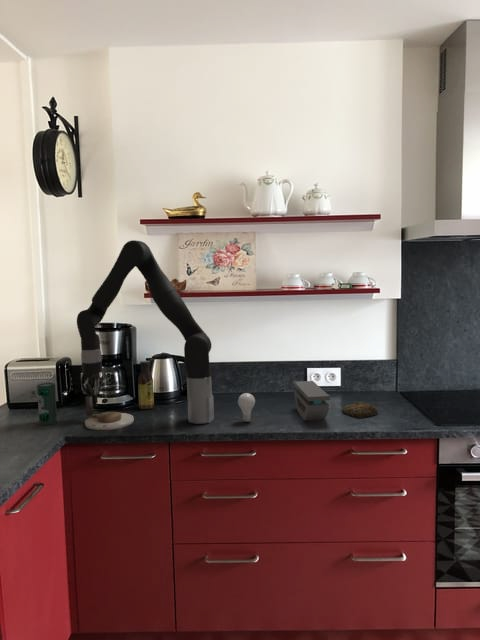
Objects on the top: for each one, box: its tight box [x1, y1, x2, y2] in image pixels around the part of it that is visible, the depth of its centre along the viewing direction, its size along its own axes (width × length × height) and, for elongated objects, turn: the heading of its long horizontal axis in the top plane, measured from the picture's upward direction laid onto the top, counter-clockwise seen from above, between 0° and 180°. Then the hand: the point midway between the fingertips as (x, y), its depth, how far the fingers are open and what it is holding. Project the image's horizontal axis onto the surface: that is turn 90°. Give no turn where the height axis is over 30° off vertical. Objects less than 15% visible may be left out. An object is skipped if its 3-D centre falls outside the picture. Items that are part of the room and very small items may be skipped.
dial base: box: [84, 412, 135, 431], centre depth 191 cm, size 18×18×2 cm
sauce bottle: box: [137, 360, 155, 410], centre depth 210 cm, size 7×6×20 cm
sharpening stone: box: [293, 380, 331, 422], centre depth 193 cm, size 25×8×11 cm, turn 6°
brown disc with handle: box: [85, 395, 122, 422], centre depth 191 cm, size 14×9×8 cm, turn 80°
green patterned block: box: [36, 382, 58, 426], centre depth 193 cm, size 6×6×15 cm
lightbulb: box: [237, 392, 256, 423], centre depth 188 cm, size 6×6×11 cm
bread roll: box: [341, 401, 378, 419], centre depth 196 cm, size 13×12×5 cm
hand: (94, 403), depth 196 cm, fingers closed
